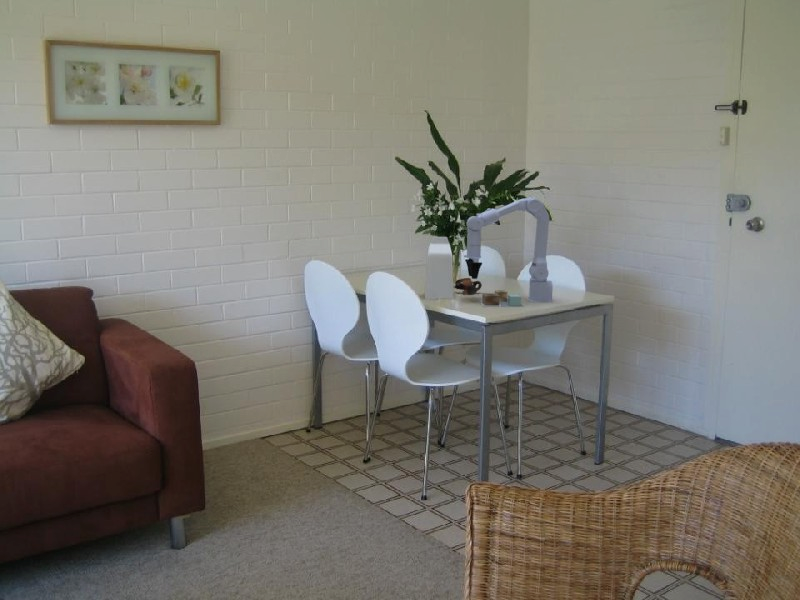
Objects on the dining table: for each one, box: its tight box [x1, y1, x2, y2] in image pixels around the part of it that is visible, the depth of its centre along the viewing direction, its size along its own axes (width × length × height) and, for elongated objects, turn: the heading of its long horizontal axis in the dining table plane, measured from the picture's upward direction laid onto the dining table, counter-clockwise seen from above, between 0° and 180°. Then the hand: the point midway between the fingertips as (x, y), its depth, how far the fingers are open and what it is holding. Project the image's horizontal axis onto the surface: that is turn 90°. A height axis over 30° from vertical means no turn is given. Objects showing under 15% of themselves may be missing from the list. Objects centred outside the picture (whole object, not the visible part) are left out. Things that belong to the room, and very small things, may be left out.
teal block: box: [507, 294, 522, 306], centre depth 366 cm, size 4×4×4 cm
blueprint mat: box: [476, 298, 525, 308], centre depth 371 cm, size 17×18×1 cm
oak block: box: [494, 289, 508, 302], centre depth 376 cm, size 4×4×4 cm
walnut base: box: [481, 292, 500, 306], centre depth 367 cm, size 6×6×4 cm
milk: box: [424, 236, 454, 300], centre depth 383 cm, size 12×12×26 cm
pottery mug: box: [453, 277, 483, 296], centre depth 394 cm, size 12×10×8 cm
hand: (473, 277), depth 375 cm, fingers open, 7 cm apart
